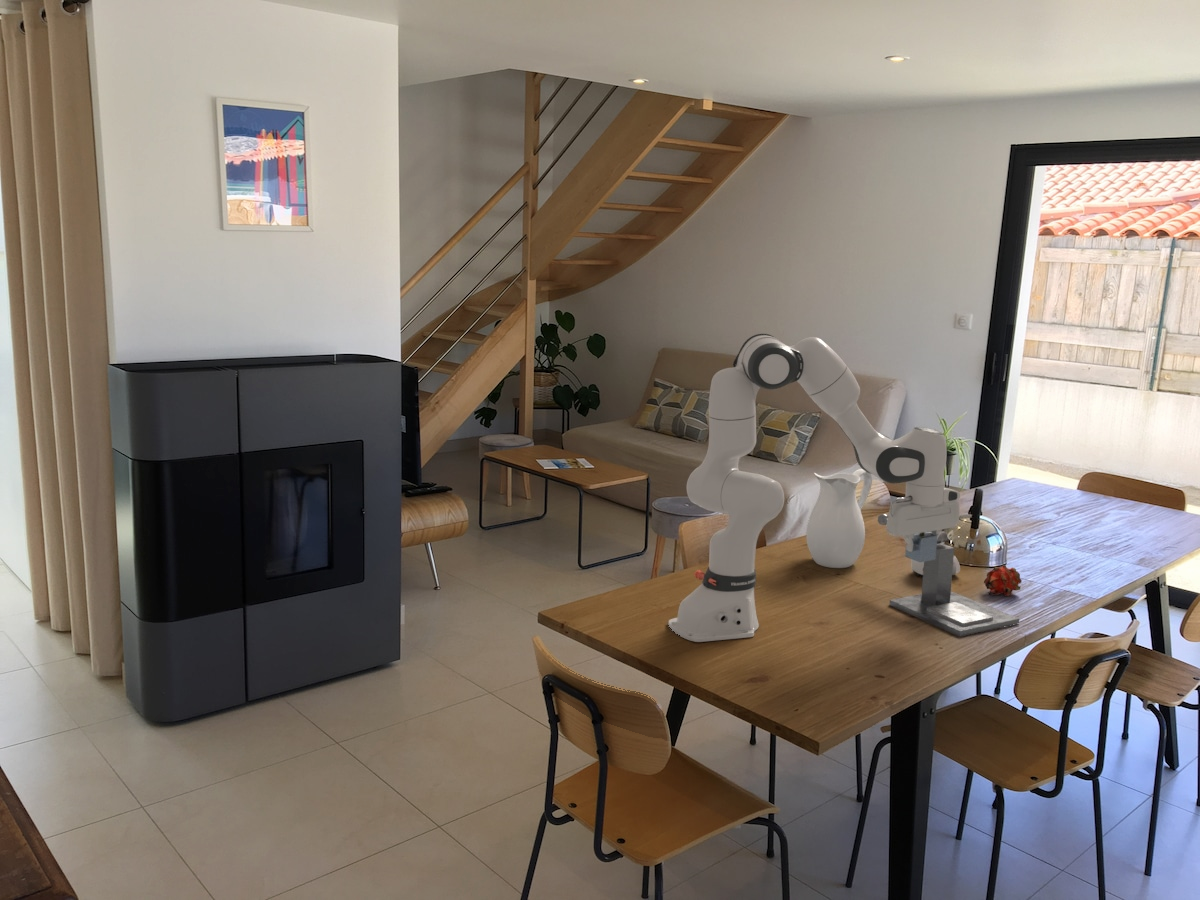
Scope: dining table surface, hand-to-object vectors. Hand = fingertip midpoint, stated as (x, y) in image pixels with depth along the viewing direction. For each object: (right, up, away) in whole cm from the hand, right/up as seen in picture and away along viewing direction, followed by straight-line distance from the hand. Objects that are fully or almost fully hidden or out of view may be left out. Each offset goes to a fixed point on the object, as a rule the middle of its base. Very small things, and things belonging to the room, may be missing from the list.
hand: (920, 548), depth 232 cm
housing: (0, -2, 0) cm, 2 cm away
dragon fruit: (+31, -15, +27) cm, 44 cm away
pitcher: (-5, -10, +56) cm, 57 cm away
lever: (+5, +2, +23) cm, 24 cm away
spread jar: (+19, -12, +43) cm, 49 cm away
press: (+12, -18, +11) cm, 24 cm away
